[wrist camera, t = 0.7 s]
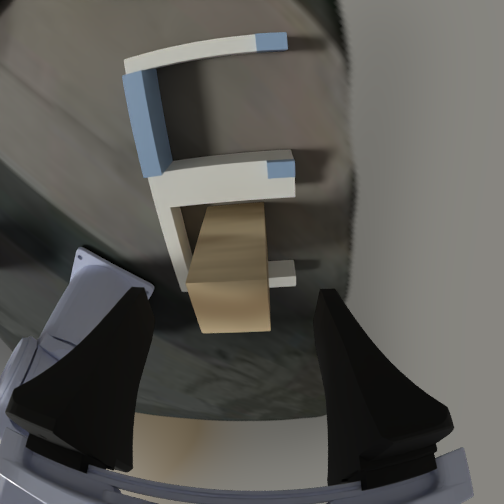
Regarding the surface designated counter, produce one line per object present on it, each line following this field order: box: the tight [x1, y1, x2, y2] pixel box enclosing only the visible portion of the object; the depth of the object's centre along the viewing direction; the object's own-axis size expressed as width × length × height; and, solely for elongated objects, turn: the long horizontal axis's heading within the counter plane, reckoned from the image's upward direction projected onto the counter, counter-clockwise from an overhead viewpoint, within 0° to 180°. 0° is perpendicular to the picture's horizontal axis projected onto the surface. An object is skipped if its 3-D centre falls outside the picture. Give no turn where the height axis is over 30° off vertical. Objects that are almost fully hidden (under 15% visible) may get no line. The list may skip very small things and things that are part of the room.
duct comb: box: [122, 32, 296, 292], centre depth 18 cm, size 18×9×3 cm, turn 5°
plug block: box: [185, 202, 271, 333], centre depth 19 cm, size 4×4×8 cm
